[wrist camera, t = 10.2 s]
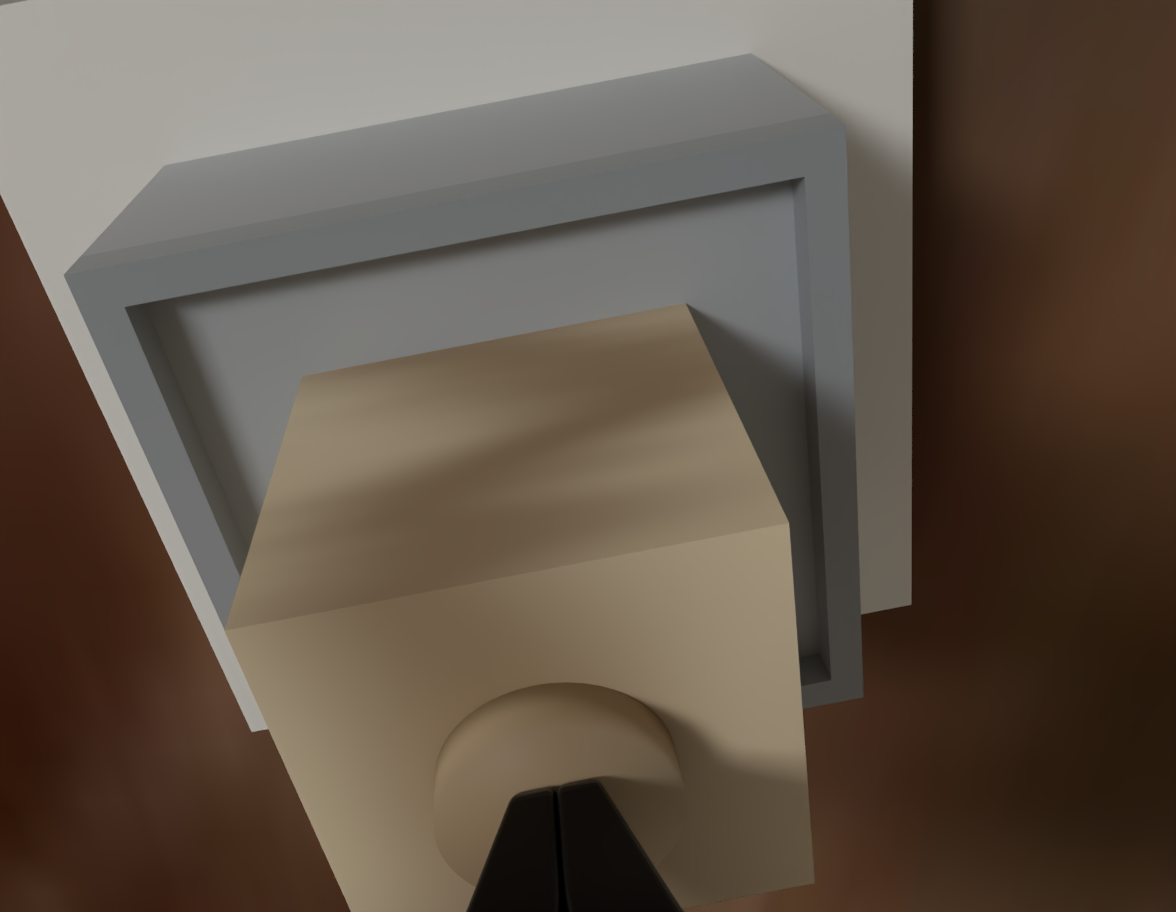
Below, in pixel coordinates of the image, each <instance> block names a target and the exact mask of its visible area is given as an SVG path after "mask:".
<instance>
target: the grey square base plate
mask: <svg viewBox="0 0 1176 912" xmlns="http://www.w3.org/2000/svg"><path fill="white" fill-rule="evenodd" d="M912 179H913V0H0V194H1V196H2V199H3V201H4V203H5V205H6V207H7V209H8V211H9V214H10V216H11V218H12V220H13V222H14V224H15V226H16V229H17V231H18V233H19V235H20V237H21V239H22V241H23V243H24V246H25V248H26V250H27V252H28V254H29V256H30V258H31V261H32V263H33V265H34V267H35V269H36V271H37V273H38V276H39V278H40V280H41V282H42V284H43V286H44V288H45V291H46V293H47V295H48V297H49V299H50V301H51V303H52V306H53V308H54V310H55V312H56V314H57V316H58V318H59V321H60V323H61V325H62V327H63V329H64V331H65V333H66V336H67V338H68V340H69V342H70V344H71V346H72V348H73V350H74V353H75V355H76V357H77V359H78V361H79V363H80V365H81V368H82V370H83V372H84V374H85V376H86V378H87V380H88V383H89V385H90V387H91V389H92V391H93V393H94V395H95V398H96V400H97V402H98V404H99V406H100V408H101V410H102V413H103V415H104V417H105V419H106V421H107V423H108V425H109V428H110V430H111V432H112V434H113V436H114V438H115V440H116V442H117V445H118V447H119V449H120V451H121V453H122V455H123V457H124V460H125V462H126V464H127V466H128V468H129V470H130V472H131V475H132V477H133V479H134V481H135V483H136V485H137V487H138V490H139V492H140V494H141V496H142V498H143V500H144V502H145V505H146V507H147V509H148V511H149V513H150V515H151V517H152V520H153V522H154V524H155V526H156V528H157V530H158V532H159V535H160V537H161V539H162V541H163V543H164V545H165V547H166V549H167V552H168V554H169V556H170V558H171V560H172V562H173V564H174V567H175V569H176V571H177V573H178V575H179V577H180V579H181V582H182V584H183V586H184V588H185V590H186V592H187V594H188V597H189V599H190V601H191V603H192V605H193V607H194V609H195V612H196V614H197V616H198V618H199V620H200V622H201V624H202V627H203V629H204V631H205V633H206V635H207V637H208V639H209V641H210V644H211V646H212V648H213V650H214V652H215V654H216V656H217V659H218V661H219V663H220V665H221V667H222V669H223V671H224V674H225V676H226V678H227V680H228V682H229V684H230V686H231V689H232V691H233V693H234V695H235V697H236V699H237V701H238V704H239V706H240V708H241V710H242V712H243V714H244V716H245V719H246V721H247V723H248V725H249V727H250V729H251V731H252V732H254V731H259V730H265V729H268V727H267V724H266V722H265V720H264V718H263V716H262V713H261V711H260V709H259V707H258V704H257V702H256V700H255V698H254V696H253V693H252V691H251V689H250V687H249V685H248V682H247V680H246V678H245V676H244V673H243V671H242V669H241V667H240V665H239V662H238V660H237V658H236V656H235V654H234V651H233V649H232V647H231V645H230V642H229V640H228V638H227V636H226V634H225V631H224V630H225V627H226V623H227V620H228V617H229V614H230V610H231V607H232V604H233V601H234V597H235V594H236V591H237V587H238V584H239V581H240V578H241V574H242V571H243V568H244V565H245V561H246V558H247V555H248V552H249V548H250V545H251V542H252V538H253V535H254V532H255V529H256V525H257V522H258V519H259V516H260V512H261V509H262V506H263V503H264V499H265V496H266V493H267V489H268V486H269V483H270V480H271V476H272V473H273V470H274V467H275V463H276V460H277V457H278V454H279V450H280V447H281V444H282V440H283V437H284V434H285V431H286V427H287V424H288V421H289V418H290V414H291V411H292V408H293V405H294V401H295V398H296V395H297V391H298V388H299V385H300V382H301V378H302V376H305V375H311V374H316V373H321V372H326V371H332V370H337V369H342V368H347V367H353V366H358V365H363V364H368V363H374V362H379V361H384V360H389V359H395V358H400V357H405V356H410V355H416V354H421V353H426V352H431V351H437V350H442V349H447V348H452V347H458V346H463V345H468V344H474V343H479V342H484V341H489V340H495V339H500V338H505V337H510V336H516V335H521V334H526V333H531V332H537V331H542V330H547V329H552V328H558V327H563V326H568V325H573V324H579V323H584V322H589V321H594V320H600V319H605V318H610V317H615V316H621V315H626V314H631V313H636V312H642V311H647V310H652V309H657V308H663V307H668V306H673V305H678V304H684V303H686V305H687V307H688V309H689V311H690V314H691V316H692V318H693V320H694V322H695V324H696V326H697V328H698V331H699V333H700V335H701V337H702V339H703V341H704V343H705V345H706V348H707V350H708V352H709V354H710V356H711V358H712V360H713V362H714V364H715V367H716V369H717V371H718V373H719V375H720V377H721V379H722V381H723V384H724V386H725V388H726V390H727V392H728V394H729V396H730V398H731V401H732V403H733V405H734V407H735V409H736V411H737V413H738V415H739V418H740V420H741V422H742V424H743V426H744V428H745V430H746V432H747V435H748V437H749V439H750V441H751V443H752V445H753V447H754V449H755V452H756V454H757V456H758V458H759V460H760V462H761V464H762V466H763V469H764V471H765V473H766V475H767V477H768V479H769V481H770V483H771V486H772V488H773V490H774V492H775V494H776V496H777V498H778V500H779V503H780V505H781V507H782V509H783V511H784V513H785V515H786V517H787V520H788V522H789V528H790V542H791V556H792V570H793V584H794V598H795V612H796V626H797V640H798V654H799V668H800V682H801V696H802V709H805V708H810V707H816V706H821V705H826V704H831V703H836V702H842V701H847V700H852V699H857V698H862V697H863V666H862V633H861V614H866V613H871V612H876V611H881V610H886V609H892V608H897V607H902V606H907V605H911V587H912Z"/></svg>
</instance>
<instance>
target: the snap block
mask: <svg viewBox="0 0 1176 912" xmlns="http://www.w3.org/2000/svg"><path fill="white" fill-rule="evenodd" d="M224 631H225V634H226V636H227V638H228V640H229V642H230V645H231V647H232V649H233V651H234V654H235V656H236V658H237V660H238V662H239V665H240V667H241V669H242V671H243V673H244V676H245V678H246V680H247V682H248V685H249V687H250V689H251V691H252V693H253V696H254V698H255V700H256V702H257V704H258V707H259V709H260V711H261V713H262V716H263V718H264V720H265V722H266V724H267V727H268V729H269V731H270V733H271V735H272V738H273V740H274V742H275V744H276V747H277V749H278V751H279V753H280V755H281V758H282V760H283V762H284V764H285V766H286V769H287V771H288V773H289V775H290V778H291V780H292V782H293V784H294V786H295V789H296V791H297V793H298V795H299V797H300V800H301V802H302V804H303V806H304V808H305V811H306V813H307V815H308V817H309V820H310V822H311V824H312V826H313V828H314V831H315V833H316V835H317V837H318V839H319V842H320V844H321V846H322V848H323V851H324V853H325V855H326V857H327V859H328V862H329V864H330V866H331V868H332V870H333V873H334V875H335V877H336V879H337V882H338V884H339V886H340V888H341V890H342V893H343V895H344V897H345V899H346V901H347V904H348V906H349V908H350V910H351V912H466V910H467V908H468V905H469V903H470V900H471V897H472V895H473V892H474V890H475V887H476V885H477V882H478V880H479V877H480V874H481V872H482V869H483V867H484V864H485V862H486V859H487V857H488V854H489V851H490V849H491V846H492V844H493V841H494V839H495V836H496V834H497V831H498V829H499V826H500V823H501V821H502V818H503V816H504V813H505V811H506V808H507V806H508V803H509V801H510V800H511V798H512V797H513V796H514V795H516V794H518V793H523V792H528V791H533V790H538V789H543V788H551V789H553V790H554V791H555V792H556V793H557V789H558V788H559V787H560V786H561V785H563V784H568V783H573V782H578V781H583V780H588V779H596V780H598V781H599V782H600V783H601V784H602V785H603V787H604V788H605V790H606V791H607V793H608V794H609V796H610V797H611V799H612V801H613V802H614V804H615V805H616V807H617V808H618V810H619V811H620V813H621V815H622V816H623V818H624V819H625V821H626V822H627V824H628V825H629V827H630V829H631V830H632V832H633V833H634V835H635V836H636V838H637V840H638V841H639V843H640V844H641V846H642V847H643V849H644V850H645V852H646V854H647V855H648V857H649V858H650V860H651V861H652V863H653V864H654V866H655V868H656V869H657V871H658V872H659V874H660V875H661V877H662V879H663V880H664V882H665V883H666V885H667V886H668V888H669V889H670V891H671V893H672V894H673V896H674V897H675V899H676V900H677V902H678V903H679V905H680V907H681V908H687V907H692V906H698V905H703V904H708V903H713V902H718V901H724V900H729V899H734V898H739V897H744V896H750V895H755V894H760V893H765V892H771V891H776V890H781V889H786V888H791V887H797V886H802V885H807V884H812V883H815V878H814V864H813V850H812V836H811V822H810V808H809V794H808V780H807V766H806V752H805V738H804V724H803V710H802V696H801V682H800V668H799V654H798V640H797V626H796V612H795V598H794V584H793V570H792V556H791V542H790V528H789V522H788V520H787V517H786V515H785V513H784V511H783V509H782V507H781V505H780V503H779V500H778V498H777V496H776V494H775V492H774V490H773V488H772V486H771V483H770V481H769V479H768V477H767V475H766V473H765V471H764V469H763V466H762V464H761V462H760V460H759V458H758V456H757V454H756V452H755V449H754V447H753V445H752V443H751V441H750V439H749V437H748V435H747V432H746V430H745V428H744V426H743V424H742V422H741V420H740V418H739V415H738V413H737V411H736V409H735V407H734V405H733V403H732V401H731V398H730V396H729V394H728V392H727V390H726V388H725V386H724V384H723V381H722V379H721V377H720V375H719V373H718V371H717V369H716V367H715V364H714V362H713V360H712V358H711V356H710V354H709V352H708V350H707V348H706V345H705V343H704V341H703V339H702V337H701V335H700V333H699V331H698V328H697V326H696V324H695V322H694V320H693V318H692V316H691V314H690V311H689V309H688V307H687V305H686V303H684V304H678V305H673V306H668V307H663V308H657V309H652V310H647V311H642V312H636V313H631V314H626V315H621V316H615V317H610V318H605V319H600V320H594V321H589V322H584V323H579V324H573V325H568V326H563V327H558V328H552V329H547V330H542V331H537V332H531V333H526V334H521V335H516V336H510V337H505V338H500V339H495V340H489V341H484V342H479V343H474V344H468V345H463V346H458V347H452V348H447V349H442V350H437V351H431V352H426V353H421V354H416V355H410V356H405V357H400V358H395V359H389V360H384V361H379V362H374V363H368V364H363V365H358V366H353V367H347V368H342V369H337V370H332V371H326V372H321V373H316V374H311V375H305V376H302V378H301V382H300V385H299V388H298V391H297V395H296V398H295V401H294V405H293V408H292V411H291V414H290V418H289V421H288V424H287V427H286V431H285V434H284V437H283V440H282V444H281V447H280V450H279V454H278V457H277V460H276V463H275V467H274V470H273V473H272V476H271V480H270V483H269V486H268V489H267V493H266V496H265V499H264V503H263V506H262V509H261V512H260V516H259V519H258V522H257V525H256V529H255V532H254V535H253V538H252V542H251V545H250V548H249V552H248V555H247V558H246V561H245V565H244V568H243V571H242V574H241V578H240V581H239V584H238V587H237V591H236V594H235V597H234V601H233V604H232V607H231V610H230V614H229V617H228V620H227V623H226V627H225V630H224Z"/></svg>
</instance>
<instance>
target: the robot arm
mask: <svg viewBox="0 0 1176 912" xmlns="http://www.w3.org/2000/svg"><path fill="white" fill-rule="evenodd" d="M466 912H684V911H683V910H682V908H681V907H680V905H679V903H678V902H677V900H676V899H675V897H674V896H673V894H672V893H671V891H670V889H669V888H668V886H667V885H666V883H665V882H664V880H663V879H662V877H661V875H660V874H659V872H658V871H657V869H656V868H655V866H654V864H653V863H652V861H651V860H650V858H649V857H648V855H647V854H646V852H645V850H644V849H643V847H642V846H641V844H640V843H639V841H638V840H637V838H636V836H635V835H634V833H633V832H632V830H631V829H630V827H629V825H628V824H627V822H626V821H625V819H624V818H623V816H622V815H621V813H620V811H619V810H618V808H617V807H616V805H615V804H614V802H613V801H612V799H611V797H610V796H609V794H608V793H607V791H606V790H605V788H604V787H603V785H602V784H601V783H600V782H599V781H598V780H596V779H588V780H583V781H578V782H573V783H568V784H563V785H561V786H560V787H559V788H558V789H557V793H556V792H555V791H554V790H553V789H551V788H543V789H538V790H533V791H528V792H523V793H518V794H516V795H514V796H513V797H512V798H511V800H510V801H509V803H508V806H507V808H506V811H505V813H504V816H503V818H502V821H501V823H500V826H499V829H498V831H497V834H496V836H495V839H494V841H493V844H492V846H491V849H490V851H489V854H488V857H487V859H486V862H485V864H484V867H483V869H482V872H481V874H480V877H479V880H478V882H477V885H476V887H475V890H474V892H473V895H472V897H471V900H470V903H469V905H468V908H467V910H466Z"/></svg>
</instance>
